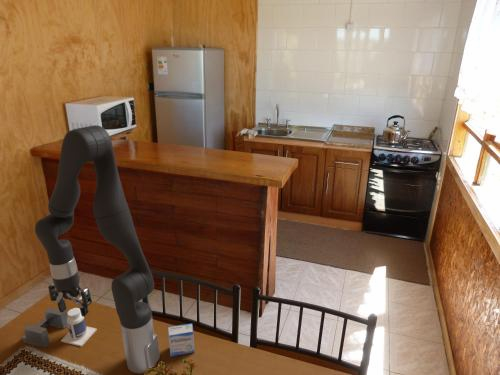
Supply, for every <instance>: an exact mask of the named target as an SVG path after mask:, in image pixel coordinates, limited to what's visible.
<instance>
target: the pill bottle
mask: <svg viewBox="0 0 500 375" xmlns="http://www.w3.org/2000/svg"><path fill="white" fill-rule="evenodd" d="M67 312H68V313H67V325H68V326H67V328H68V333H70V337H71V338H72V339H75V340H77V339H81V338H83V337H84V336H85V335H86V334H87V328H86V326H87V323H86V320H85V316H84V317H83V316H82V315H81V311H80V307H79V308H78V307H73V308H71V309H69V310H68V311H67Z"/></svg>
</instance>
